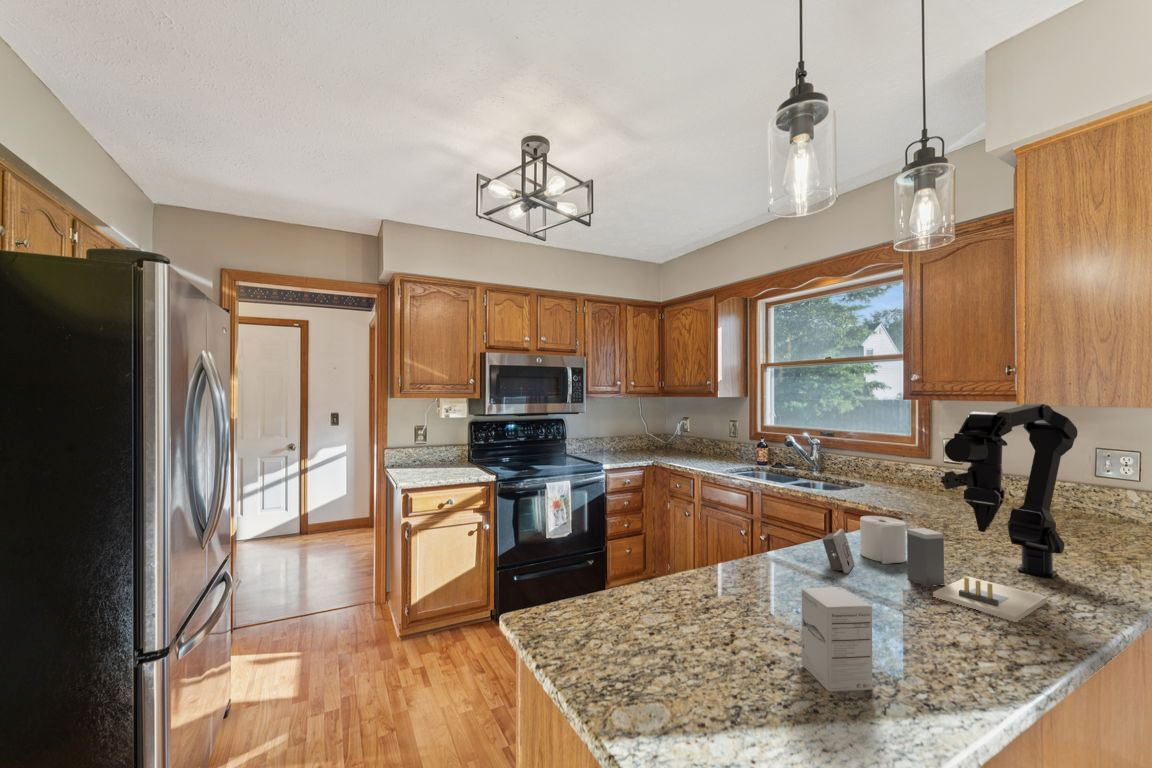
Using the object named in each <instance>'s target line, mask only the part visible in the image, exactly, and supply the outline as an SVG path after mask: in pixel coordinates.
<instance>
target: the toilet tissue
mask: <svg viewBox="0 0 1152 768" xmlns="http://www.w3.org/2000/svg"><path fill="white" fill-rule="evenodd" d="M859 521H860V522H859V523H860V525H859V526H860V527H859V529H860V531H859V534H860V537H859V539H860V541H859V542H860V543H859V546H860V554H861V556H862V557H865V558H867V559H870V560H872V561H876V562H877V561H878V562H881V564H900V563H905V562H907V526H906V525H907V523H906V522H905V521H903V520H901V519H898V518H894V517H889V516H881V515H863V516H860V519H859Z"/></svg>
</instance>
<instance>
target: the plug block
mask: <svg viewBox="0 0 1152 768" xmlns="http://www.w3.org/2000/svg"><path fill="white" fill-rule="evenodd" d="M944 534H945V533H943V532H940V531H936V530H932V529H929V528H926V527H919V528H906V562H907V565H906V566H907V580H908V579H910V580H909V581H911V580H912V581H911V582H913V581H915V582H917V583H916V584H918V583H920V584H922V585H921V586H923V585H925V586H933V585H941V584H944V585H945V552H944V551H945V548H944V545H945V544H944V543H945V542H944V539H945V538H944ZM915 582H914V583H915ZM920 584H919V585H920ZM925 586H924V587H925ZM933 587H934V586H933Z"/></svg>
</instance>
